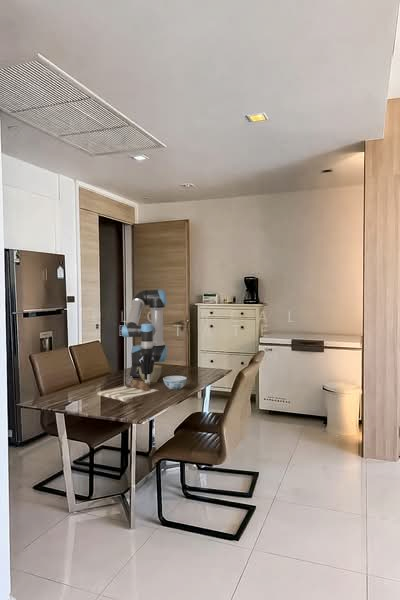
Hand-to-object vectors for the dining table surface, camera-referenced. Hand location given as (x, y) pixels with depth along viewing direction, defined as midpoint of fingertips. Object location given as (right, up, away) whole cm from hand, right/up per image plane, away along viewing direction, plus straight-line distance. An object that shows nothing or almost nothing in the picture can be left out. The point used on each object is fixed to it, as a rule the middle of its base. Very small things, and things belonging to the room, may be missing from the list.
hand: (147, 384), depth 264 cm
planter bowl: (-1, -3, +23) cm, 23 cm away
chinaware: (+18, -4, -2) cm, 18 cm away
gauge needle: (-6, -2, -3) cm, 7 cm away
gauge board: (-10, -4, -10) cm, 15 cm away
